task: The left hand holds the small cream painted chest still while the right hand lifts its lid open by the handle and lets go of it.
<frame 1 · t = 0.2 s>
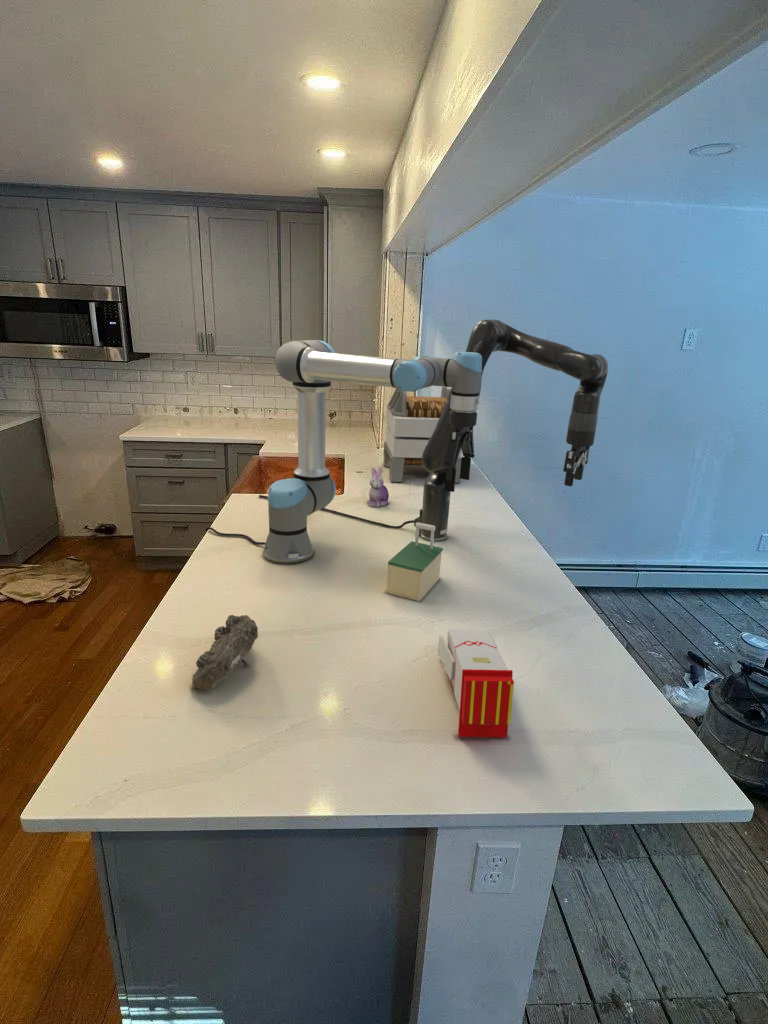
left hand: (457, 484, 162), 28 cm above the counter, tool pointing down, fingers open, 13 cm apart
right hand: (573, 482, 165), 29 cm above the counter, tool pointing down, fingers open, 8 cm apart
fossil: (230, 663, 124), on the counter
figurine: (378, 503, 230), on the counter
chest: (413, 585, 163), on the counter
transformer: (419, 473, 275), on the counter
toy: (469, 691, 119), on the counter
lid: (417, 544, 159), point 13 cm above the counter, hinge at 0.0°
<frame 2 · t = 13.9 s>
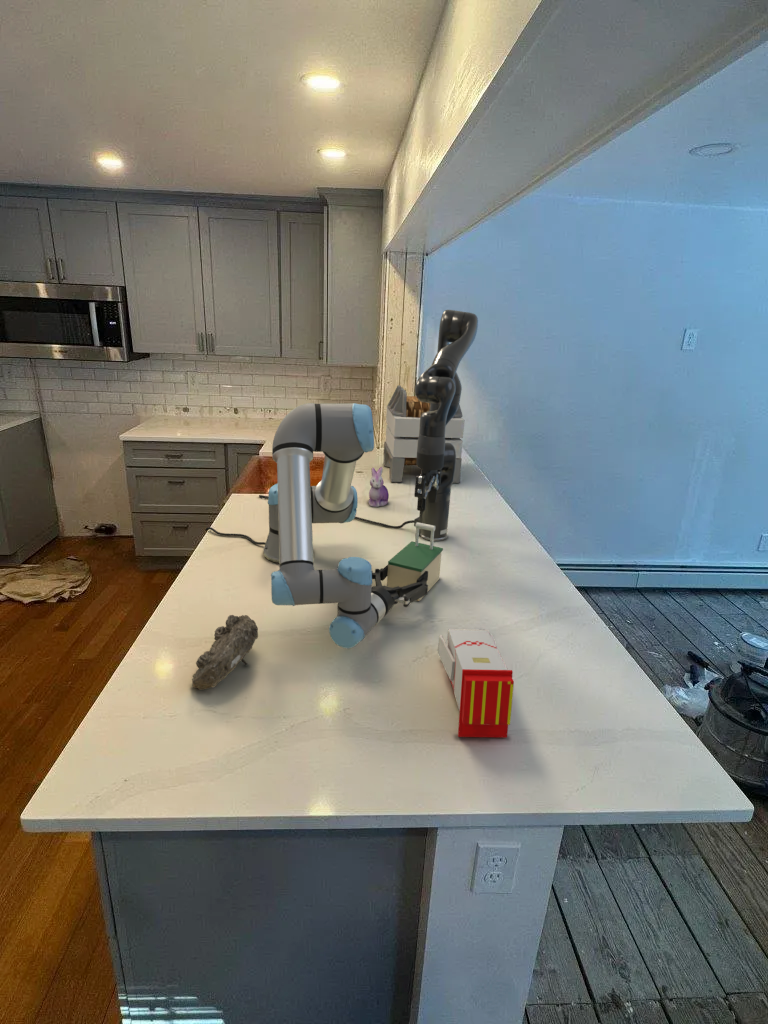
left hand: (408, 571, 157), 6 cm above the counter, tool horizontal, fingers closed on chest, 10 cm apart
right hand: (426, 506, 161), 22 cm above the counter, tool pointing down, fingers open, 8 cm apart
chest: (413, 585, 163), on the counter, touching left hand
everything else where it was.
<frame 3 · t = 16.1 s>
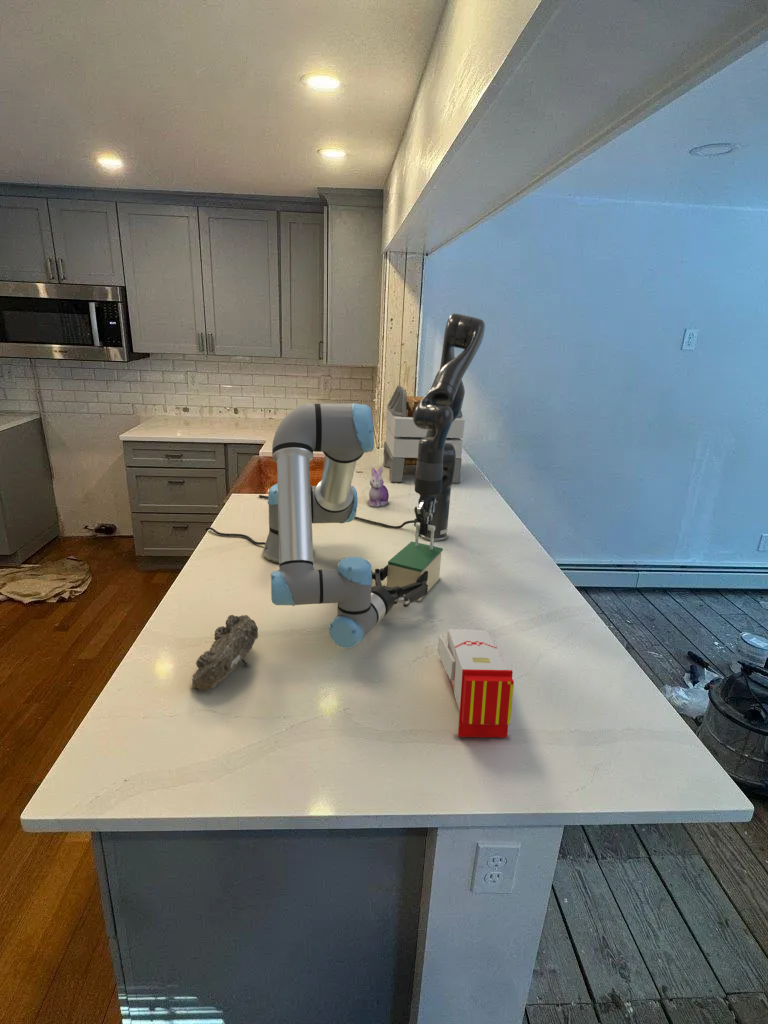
left hand: (408, 571, 157), 6 cm above the counter, tool horizontal, fingers closed on chest, 10 cm apart
right hand: (424, 533, 164), 14 cm above the counter, tool pointing down, fingers closed on lid
chest: (413, 585, 163), on the counter, touching left hand
lid: (417, 544, 159), point 13 cm above the counter, hinge at -0.1°, touching right hand
everything else where it was.
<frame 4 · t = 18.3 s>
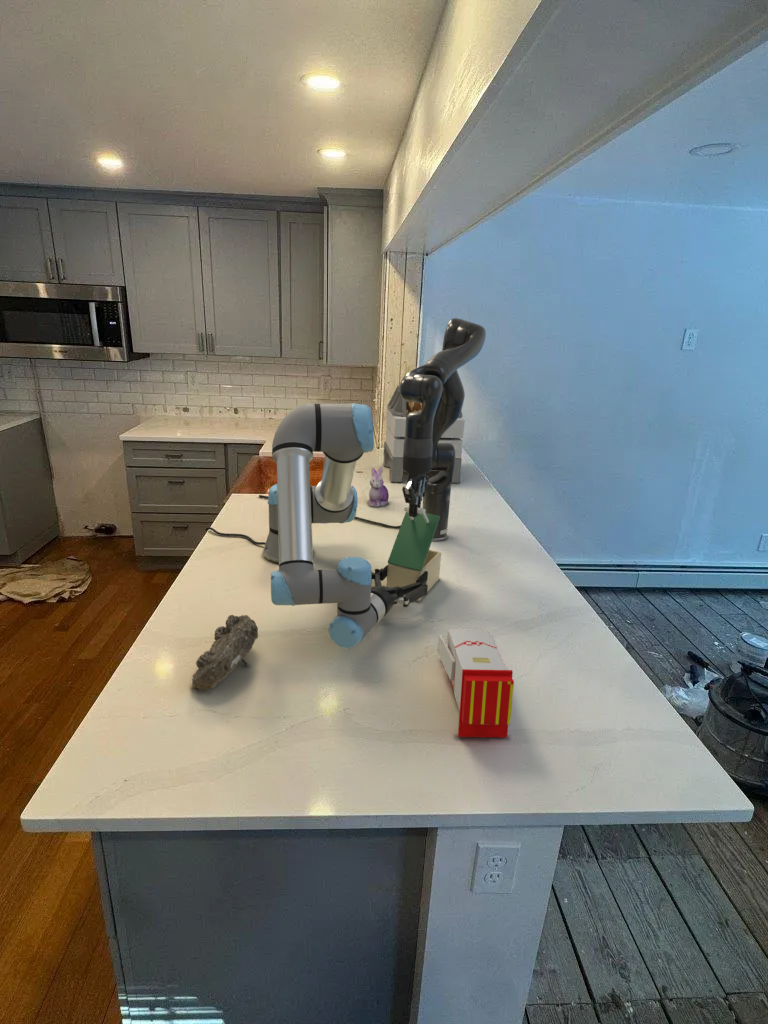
left hand: (408, 571, 157), 6 cm above the counter, tool horizontal, fingers closed on chest, 10 cm apart
right hand: (414, 514, 153), 23 cm above the counter, tool pointing down, fingers closed, pressing on lid
chest: (413, 585, 163), on the counter, touching left hand
lid: (410, 533, 153), point 18 cm above the counter, hinge at 44.9°, touching right hand
everything else where it was.
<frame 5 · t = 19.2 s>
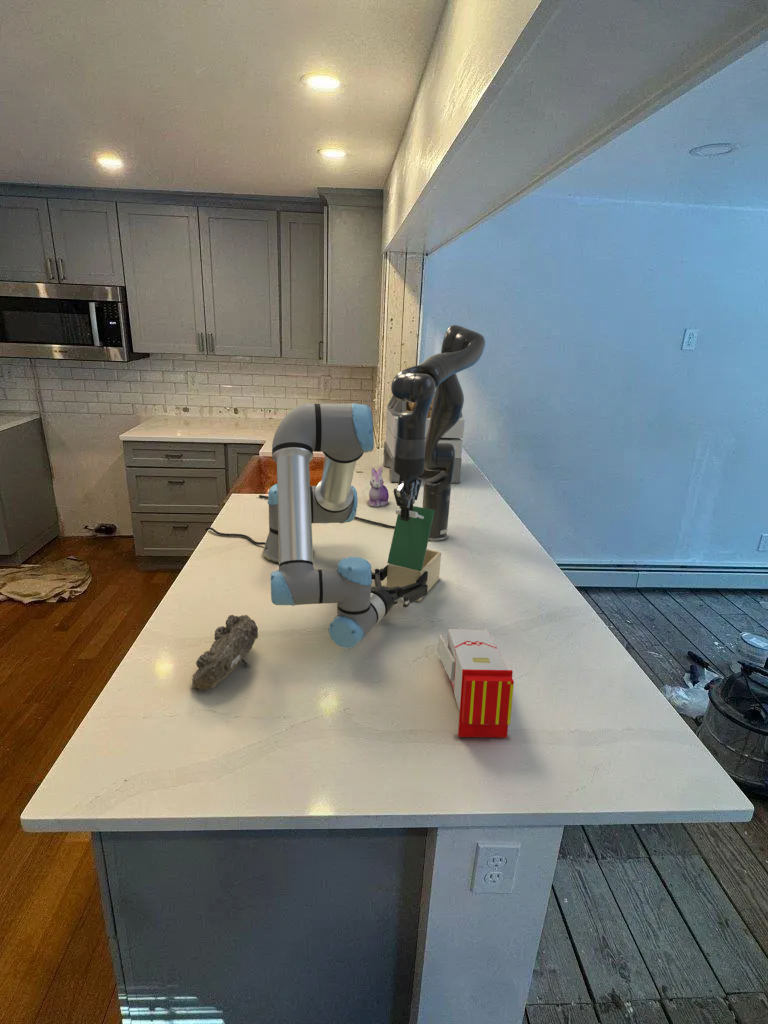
left hand: (408, 571, 157), 6 cm above the counter, tool horizontal, fingers closed on chest, 10 cm apart
right hand: (406, 518, 148), 23 cm above the counter, tool pointing down, fingers closed on lid
chest: (413, 585, 163), on the counter, touching left hand
lid: (406, 535, 150), point 18 cm above the counter, hinge at 65.6°, touching right hand
everything else where it was.
when the left hand's fingers open (6 cm above the counter, at t = 23.7 s): chest stays where it is, on the counter.
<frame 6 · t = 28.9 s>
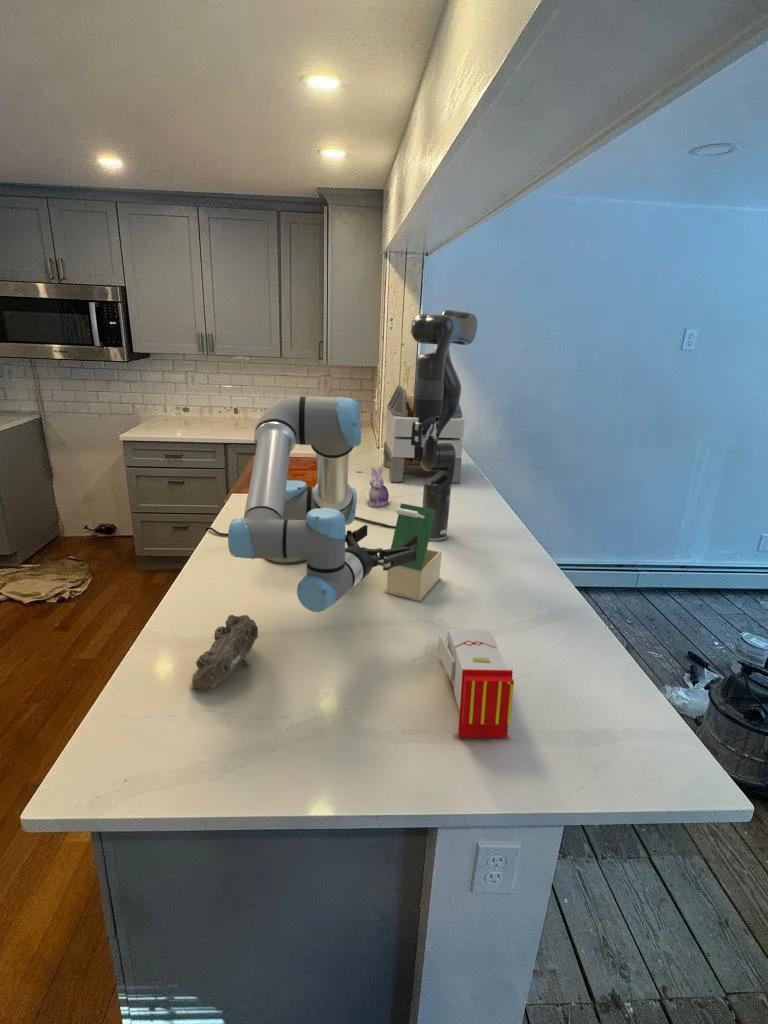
left hand: (390, 535, 140), 22 cm above the counter, tool horizontal, fingers open, 13 cm apart
right hand: (424, 457, 152), 38 cm above the counter, tool pointing down, fingers open, 8 cm apart
chest: (413, 585, 163), on the counter
lid: (406, 535, 150), point 18 cm above the counter, hinge at 65.2°
everything else where it was.
at the end: lid at +65° (first picture: +0°); the left hand is holding nothing; the right hand is holding nothing; chest tilted 0°; chest never tilted more than 1° during the clip; chest moved 0.1 cm from its start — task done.
